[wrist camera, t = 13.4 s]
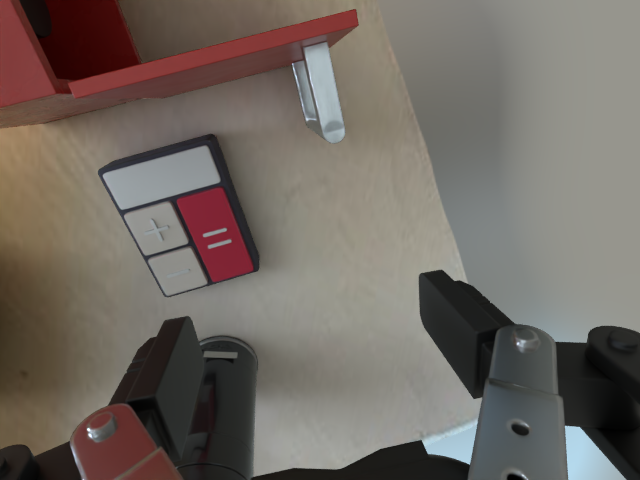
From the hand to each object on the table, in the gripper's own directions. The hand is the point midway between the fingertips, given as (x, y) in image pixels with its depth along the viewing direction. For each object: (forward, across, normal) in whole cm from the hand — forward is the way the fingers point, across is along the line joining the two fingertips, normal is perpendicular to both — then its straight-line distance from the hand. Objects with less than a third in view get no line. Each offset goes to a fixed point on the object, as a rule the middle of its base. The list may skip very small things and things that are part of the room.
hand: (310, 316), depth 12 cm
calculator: (+29, +11, +3) cm, 31 cm away
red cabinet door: (+28, +2, -7) cm, 29 cm away
